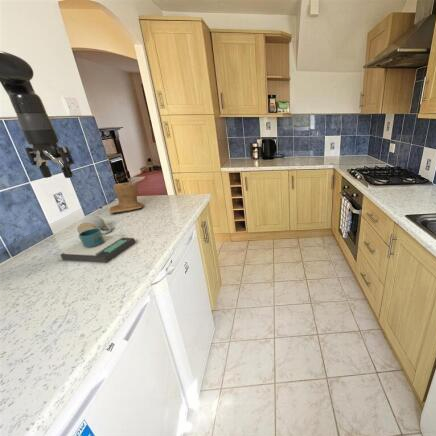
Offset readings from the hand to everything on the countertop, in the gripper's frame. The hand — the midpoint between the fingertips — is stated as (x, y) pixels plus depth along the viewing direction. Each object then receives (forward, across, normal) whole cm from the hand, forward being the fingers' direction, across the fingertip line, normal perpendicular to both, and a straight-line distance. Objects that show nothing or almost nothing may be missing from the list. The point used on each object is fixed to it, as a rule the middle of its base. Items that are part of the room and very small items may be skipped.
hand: (58, 177), depth 85 cm
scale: (+28, +9, -3) cm, 30 cm away
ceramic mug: (+28, -6, +11) cm, 31 cm away
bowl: (+25, +7, -3) cm, 26 cm away
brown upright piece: (+28, -14, +39) cm, 50 cm away
